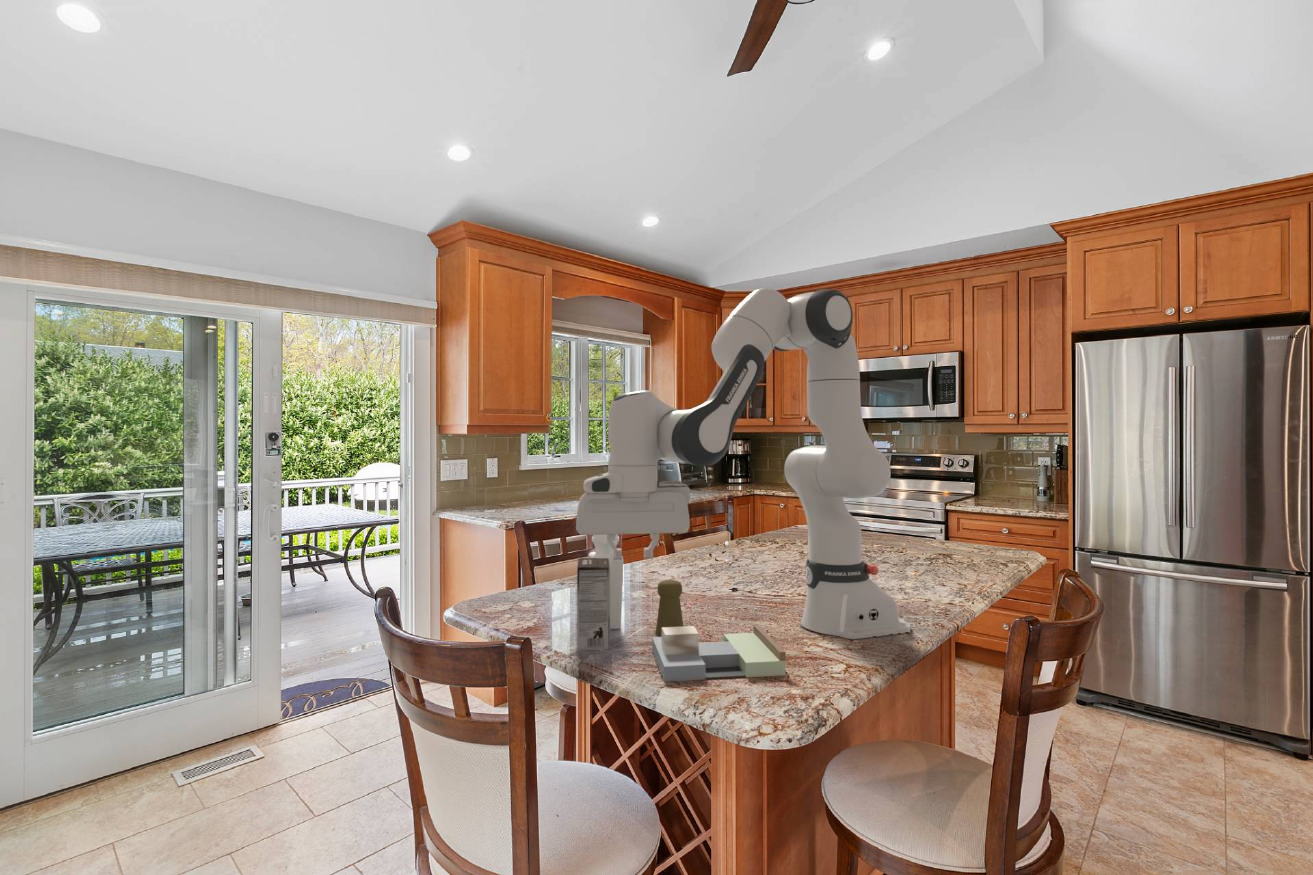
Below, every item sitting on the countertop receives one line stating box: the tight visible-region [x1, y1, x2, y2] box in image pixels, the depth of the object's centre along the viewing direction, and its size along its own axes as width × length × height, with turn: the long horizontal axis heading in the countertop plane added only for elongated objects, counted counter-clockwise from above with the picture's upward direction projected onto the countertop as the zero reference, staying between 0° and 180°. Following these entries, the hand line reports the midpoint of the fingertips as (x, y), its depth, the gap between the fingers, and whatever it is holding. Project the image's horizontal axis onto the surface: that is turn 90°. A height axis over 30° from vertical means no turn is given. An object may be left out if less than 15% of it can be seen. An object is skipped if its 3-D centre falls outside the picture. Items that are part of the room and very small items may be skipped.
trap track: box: [651, 624, 787, 682], centre depth 116 cm, size 21×16×4 cm
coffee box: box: [576, 557, 611, 651], centre depth 127 cm, size 9×6×16 cm
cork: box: [655, 579, 684, 637], centre depth 133 cm, size 6×6×11 cm
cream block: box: [662, 625, 700, 655], centre depth 115 cm, size 6×4×4 cm
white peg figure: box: [587, 534, 624, 630], centre depth 139 cm, size 6×6×22 cm
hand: (632, 558), depth 114 cm, fingers open, 4 cm apart
